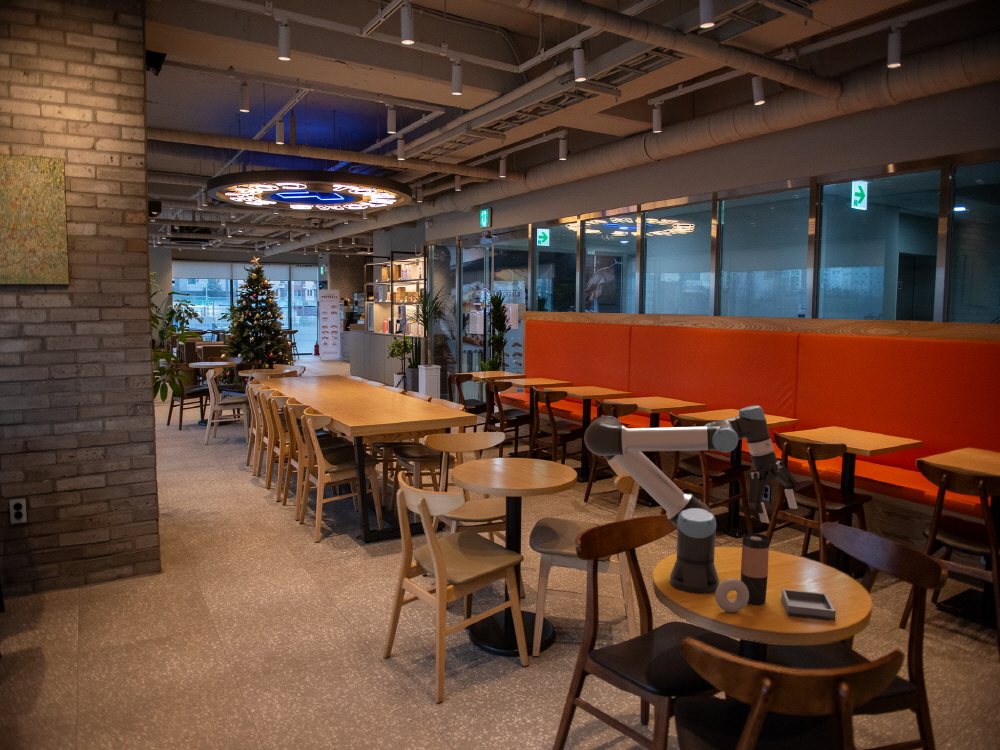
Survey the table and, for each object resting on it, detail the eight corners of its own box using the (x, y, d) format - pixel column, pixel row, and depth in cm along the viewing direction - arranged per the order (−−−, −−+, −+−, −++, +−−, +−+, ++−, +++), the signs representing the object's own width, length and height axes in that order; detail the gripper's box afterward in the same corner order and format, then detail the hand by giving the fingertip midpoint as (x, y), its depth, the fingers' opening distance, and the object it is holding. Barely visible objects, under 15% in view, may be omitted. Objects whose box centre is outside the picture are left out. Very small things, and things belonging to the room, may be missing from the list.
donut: (745, 609, 203) (747, 576, 202) (750, 614, 200) (752, 581, 199) (712, 609, 202) (713, 576, 201) (716, 614, 199) (718, 581, 198)
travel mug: (763, 608, 204) (766, 542, 202) (737, 602, 208) (740, 538, 206) (768, 599, 210) (771, 535, 208) (742, 593, 214) (745, 531, 212)
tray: (787, 615, 199) (788, 605, 199) (781, 598, 211) (781, 588, 211) (835, 621, 196) (835, 610, 195) (825, 603, 208) (826, 593, 208)
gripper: (743, 464, 215) (761, 529, 216) (797, 441, 226) (814, 503, 227) (726, 464, 222) (744, 527, 222) (779, 442, 233) (795, 502, 233)
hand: (779, 515), depth 225 cm, fingers open, 13 cm apart
